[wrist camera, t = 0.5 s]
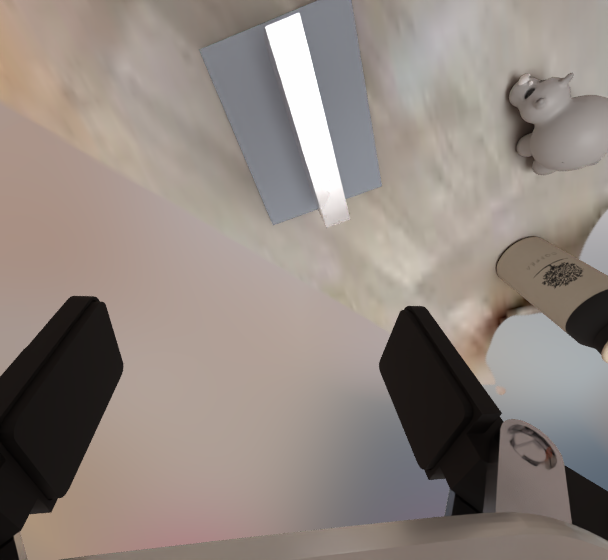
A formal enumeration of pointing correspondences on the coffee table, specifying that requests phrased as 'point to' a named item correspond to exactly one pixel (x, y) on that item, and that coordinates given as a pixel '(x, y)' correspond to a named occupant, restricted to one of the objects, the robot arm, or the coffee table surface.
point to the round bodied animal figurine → (560, 124)
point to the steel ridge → (306, 115)
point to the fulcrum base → (273, 117)
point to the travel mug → (560, 289)
